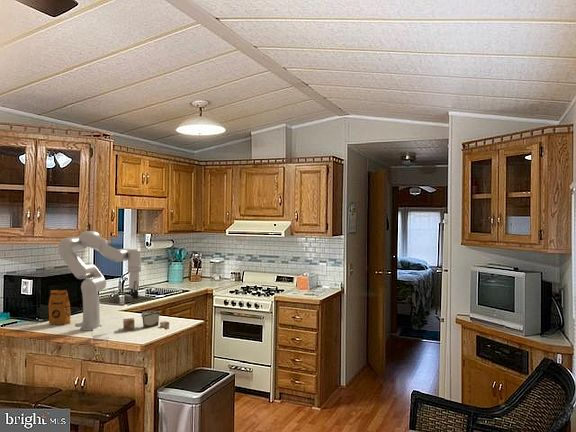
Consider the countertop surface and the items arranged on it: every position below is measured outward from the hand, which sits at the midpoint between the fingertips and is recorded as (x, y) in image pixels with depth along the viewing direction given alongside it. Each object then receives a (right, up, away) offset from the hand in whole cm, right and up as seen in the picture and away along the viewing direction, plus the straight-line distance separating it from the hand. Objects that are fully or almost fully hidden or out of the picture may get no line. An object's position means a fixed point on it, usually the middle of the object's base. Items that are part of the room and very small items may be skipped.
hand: (134, 297), depth 290 cm
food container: (+7, -20, +5) cm, 22 cm away
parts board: (-2, -20, -4) cm, 20 cm away
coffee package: (-54, -21, +18) cm, 61 cm away
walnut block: (-2, -19, -4) cm, 19 cm away
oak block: (+18, -20, +3) cm, 27 cm away
